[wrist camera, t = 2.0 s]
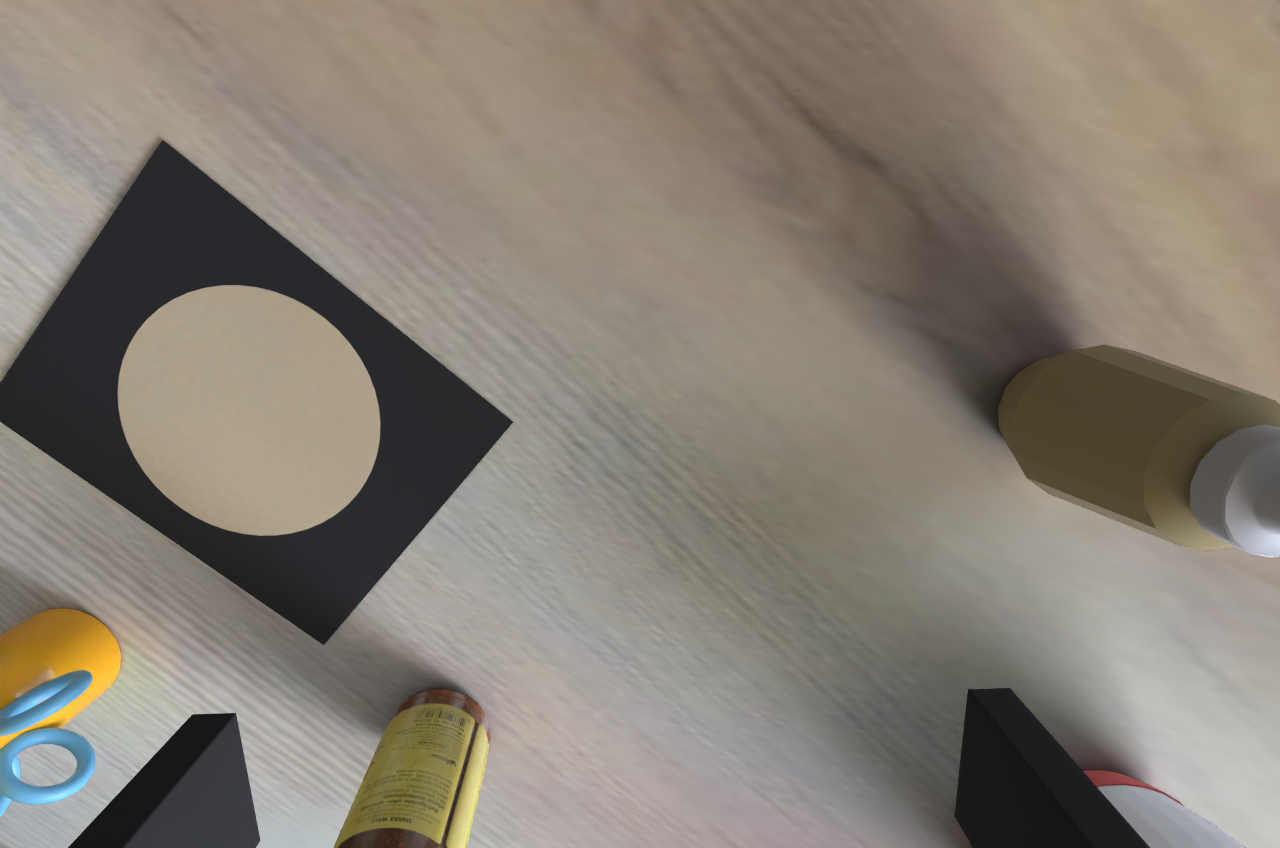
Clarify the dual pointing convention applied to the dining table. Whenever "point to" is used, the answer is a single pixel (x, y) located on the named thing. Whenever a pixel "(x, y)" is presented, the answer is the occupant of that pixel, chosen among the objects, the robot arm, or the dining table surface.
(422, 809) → the sauce bottle
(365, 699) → the dining table surface
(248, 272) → the mat
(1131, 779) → the citrus juicer
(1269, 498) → the squeeze bottle
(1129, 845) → the robot arm
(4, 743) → the cylinder
